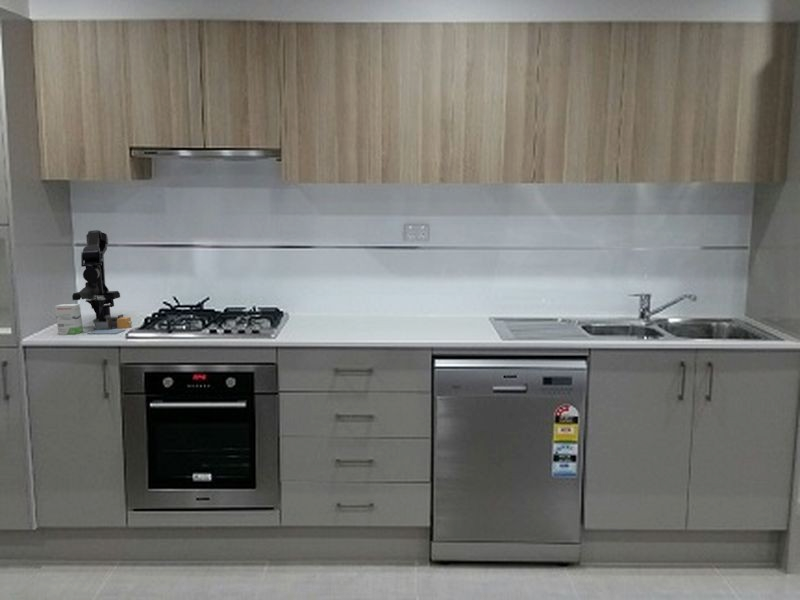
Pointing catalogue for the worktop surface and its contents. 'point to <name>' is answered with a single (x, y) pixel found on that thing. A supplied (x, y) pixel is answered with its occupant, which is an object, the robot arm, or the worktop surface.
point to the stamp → (122, 323)
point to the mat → (105, 331)
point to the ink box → (69, 319)
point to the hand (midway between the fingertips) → (98, 315)
